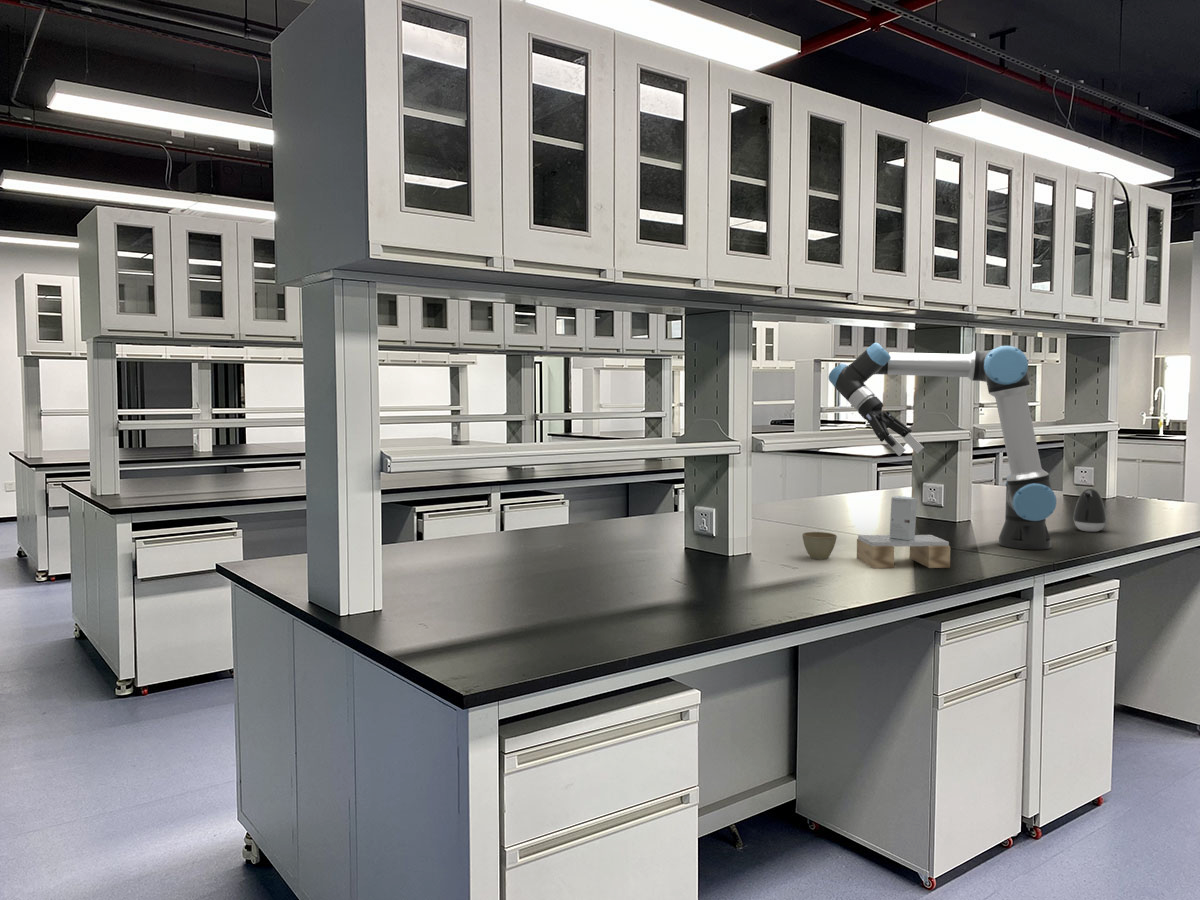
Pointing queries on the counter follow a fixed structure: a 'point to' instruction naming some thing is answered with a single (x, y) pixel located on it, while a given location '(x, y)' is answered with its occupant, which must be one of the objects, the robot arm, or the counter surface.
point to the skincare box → (903, 517)
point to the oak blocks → (920, 554)
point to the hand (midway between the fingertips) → (911, 451)
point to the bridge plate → (902, 541)
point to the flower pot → (819, 544)
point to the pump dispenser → (1089, 512)
